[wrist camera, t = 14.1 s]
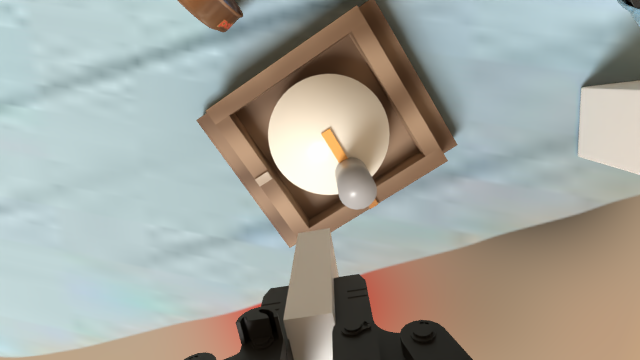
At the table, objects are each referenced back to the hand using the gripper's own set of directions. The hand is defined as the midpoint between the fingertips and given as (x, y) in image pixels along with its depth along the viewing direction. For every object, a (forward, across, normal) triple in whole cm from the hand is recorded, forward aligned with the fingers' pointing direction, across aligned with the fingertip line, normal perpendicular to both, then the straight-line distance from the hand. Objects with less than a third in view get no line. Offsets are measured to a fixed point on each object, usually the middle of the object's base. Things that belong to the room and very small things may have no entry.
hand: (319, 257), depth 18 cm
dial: (+21, +1, +3) cm, 21 cm away
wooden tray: (+23, +1, +3) cm, 23 cm away
